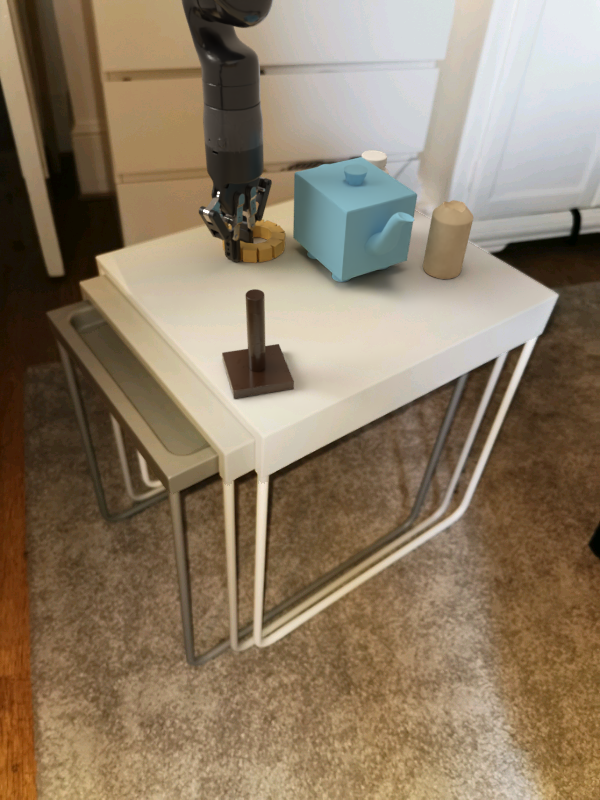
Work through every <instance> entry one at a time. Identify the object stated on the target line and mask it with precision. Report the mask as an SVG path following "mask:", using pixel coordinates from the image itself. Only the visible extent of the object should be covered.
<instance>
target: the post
mask: <svg viewBox="0 0 600 800" xmlns="http://www.w3.org/2000/svg"><path fill="white" fill-rule="evenodd" d="M265 298H266V297H265V293H264V291H263V290H260V289H258V288H257V289H255V288H253V289H250V290H248V291H246V292H245V310H246V311H245V313H246V315H245V317H246V318H245V319H246V337H247V339H246V341H247V348H243V349H238V350H236V349H235V350H230V351H224V352H221V359H222V363H223V367H224V370H225V374H226V377H227V380H228V383H229V387H230V390H231V393H232V394H231V395H232V397H233V400H235V399H243V398H247V397H252V396H259V395H265V394H270V393H277V392H282V391H288V390H293V389H294V388H295V380H294V378H293V376H292V373H291V371H290V368H289V366H288V363H287V360H286V358H285V356H284V353H283V351H282V348H281V346H280V344H279V343H276V344H269V345H266V305H265V304H266V303H265V302H266V301H265V300H266V299H265Z"/></svg>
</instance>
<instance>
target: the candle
mask: <svg viewBox="0 0 600 800" xmlns="http://www.w3.org/2000/svg"><path fill="white" fill-rule="evenodd" d="M473 222H474V215H473V213H472V211H471V210H470V209H469V208H468V206H467V205H466V203H465V202H464V201H460V200H455V199H452V200H450V201H443V202H442V203H441V204H439V205H438V206H437V207H435V208H434V209H433V210H432V212H431V219H430V224H429V229H428V234H427V241H426V247H425V252H424V256H423V263H422V269H423V271H425V273H426V274H427V275H429V276H430V277H433V278H436V279H442V280H450V279H455V278H456V277H458V276H460V274H461V272H462V268H463V265H464V262H465V261H464V260H465V256H466V251H467V248H468V244H469V240H470V235H471V230H472V226H473Z"/></svg>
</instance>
